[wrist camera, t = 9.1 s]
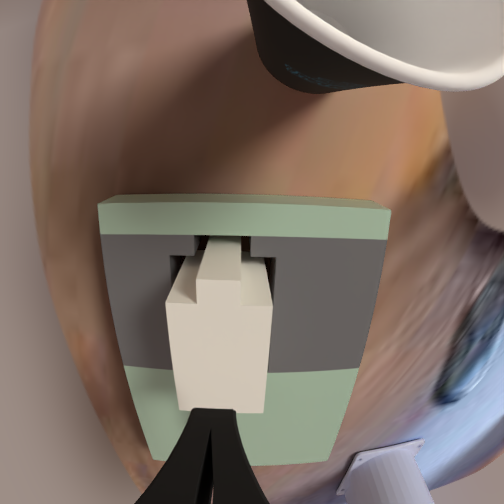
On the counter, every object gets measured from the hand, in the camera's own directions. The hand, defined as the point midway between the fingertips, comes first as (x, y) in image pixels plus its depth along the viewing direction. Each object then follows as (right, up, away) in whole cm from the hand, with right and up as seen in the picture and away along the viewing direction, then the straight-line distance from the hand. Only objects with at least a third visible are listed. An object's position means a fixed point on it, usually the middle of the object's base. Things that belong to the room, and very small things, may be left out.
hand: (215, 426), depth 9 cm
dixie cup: (+4, +16, +5) cm, 17 cm away
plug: (0, +2, +9) cm, 10 cm away
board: (+1, -1, +10) cm, 10 cm away
